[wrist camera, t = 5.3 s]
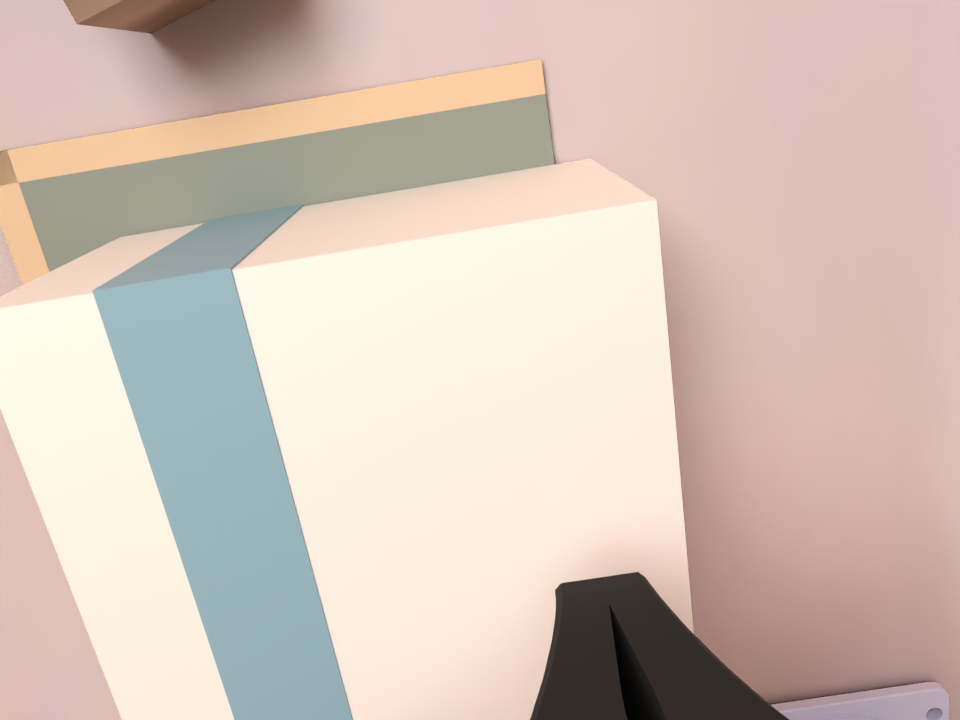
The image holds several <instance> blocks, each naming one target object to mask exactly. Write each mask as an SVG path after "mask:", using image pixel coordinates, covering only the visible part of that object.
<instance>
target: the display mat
mask: <svg viewBox="0 0 960 720" xmlns="http://www.w3.org/2000/svg"><path fill="white" fill-rule="evenodd" d="M548 165H554V156H553V148H552V140H551V133H550V125H549V117H548V109H547V101H546V93H545V85H544V77H543V69H542V61H541V59H539V60H533V61H527V62H521V63H515V64H510V65H504V66H498V67H492V68H486V69H480V70H474V71H468V72H463V73H457V74H451V75H445V76H439V77H433V78H427V79H421V80H416V81H410V82H404V83H398V84H392V85H386V86H380V87H375V88H369V89H363V90H357V91H351V92H345V93H339V94H333V95H328V96H322V97H316V98H310V99H304V100H298V101H292V102H286V103H281V104H275V105H269V106H263V107H257V108H251V109H245V110H239V111H234V112H228V113H222V114H216V115H210V116H204V117H198V118H192V119H187V120H181V121H175V122H169V123H163V124H157V125H151V126H145V127H140V128H134V129H128V130H122V131H116V132H110V133H104V134H98V135H93V136H87V137H81V138H75V139H69V140H63V141H57V142H51V143H46V144H40V145H34V146H28V147H22V148H16V149H10V150H4V151H0V225H1V228H2V231H3V233H4V236H5V239H6V242H7V244H8V247H9V250H10V253H11V256H12V258H13V261H14V264H15V267H16V269H17V272H18V275H19V278H20V281H21V283H22V285H24V284H26V283H28V282H30V281H32V280H34V279H36V278H39V277H41V276H43V275H45V274H47V273H49V272H51V271H53V270H55V269H57V268H59V267H61V266H63V265H65V264H67V263H69V262H71V261H73V260H75V259H77V258H79V257H81V256H83V255H85V254H87V253H89V252H91V251H93V250H95V249H97V248H99V247H101V246H103V245H105V244H107V243H109V242H111V241H114V240H116V239H118V238H120V237H123V236H129V235H135V234H141V233H147V232H153V231H159V230H165V229H171V228H177V227H183V226H189V225H195V224H201V223H205V222H207V221H209V220H211V219H217V218H223V217H229V216H235V215H241V214H247V213H253V212H259V211H265V210H271V209H277V208H283V207H289V206H295V205H301V204H303V206H309V205H315V204H321V203H327V202H333V201H339V200H345V199H351V198H357V197H363V196H369V195H375V194H381V193H387V192H393V191H399V190H405V189H411V188H417V187H423V186H429V185H434V184H440V183H446V182H452V181H458V180H464V179H470V178H476V177H482V176H488V175H494V174H500V173H506V172H512V171H518V170H524V169H530V168H536V167H542V166H548Z"/></svg>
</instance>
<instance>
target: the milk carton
mask: <svg viewBox="0 0 960 720" xmlns="http://www.w3.org/2000/svg"><path fill="white" fill-rule="evenodd" d="M0 409H1V411H2V414H3V416H4V419H5V422H6V424H7V427H8V429H9V432H10V434H11V437H12V439H13V442H14V445H15V447H16V450H17V452H18V455H19V457H20V460H21V462H22V465H23V468H24V470H25V473H26V475H27V478H28V480H29V483H30V485H31V488H32V491H33V493H34V496H35V498H36V501H37V503H38V506H39V508H40V511H41V514H42V516H43V519H44V521H45V524H46V526H47V529H48V532H49V534H50V537H51V539H52V542H53V544H54V547H55V549H56V552H57V555H58V557H59V560H60V562H61V565H62V567H63V570H64V572H65V575H66V578H67V580H68V583H69V585H70V588H71V590H72V593H73V595H74V598H75V601H76V603H77V606H78V608H79V611H80V613H81V616H82V618H83V621H84V624H85V626H86V629H87V631H88V634H89V636H90V639H91V642H92V644H93V647H94V649H95V652H96V654H97V657H98V659H99V662H100V665H101V667H102V670H103V672H104V675H105V677H106V680H107V682H108V685H109V688H110V690H111V693H112V695H113V698H114V700H115V703H116V705H117V708H118V711H119V713H120V716H121V718H122V720H530V718H531V715H532V712H533V709H534V706H535V702H536V699H537V696H538V693H539V690H540V687H541V683H542V680H543V676H544V673H545V668H546V664H547V659H548V655H549V651H550V646H551V642H552V636H553V629H554V622H555V612H556V596H555V590H556V588H557V587H558V586H559V585H560V584H561V583H566V582H572V581H579V580H586V579H593V578H600V577H606V576H613V575H620V574H627V573H633V572H639V573H640V574H642V575H643V576H644V577H646V579H647V580H648V581H649V583H650V584H651V585H652V587H653V588H654V589H655V591H656V592H657V593H658V594H659V596H660V597H661V598H662V599H663V600H664V602H665V603H666V604H667V605H668V606H669V608H670V609H671V610H672V611H673V612H674V613H675V614H676V615H677V617H678V618H679V619H680V620H681V621H682V622H683V623H684V624H685V625H686V627H687V628H688V629H689V630H690V631H691V632H692V633H693V634H694V629H693V618H692V606H691V594H690V583H689V571H688V559H687V548H686V536H685V525H684V513H683V501H682V490H681V478H680V467H679V455H678V443H677V432H676V420H675V408H674V397H673V385H672V374H671V362H670V350H669V339H668V327H667V316H666V304H665V292H664V281H663V269H662V257H661V246H660V234H659V223H658V211H657V200H656V199H655V198H653V197H651V196H650V195H648V194H647V193H645V192H643V191H642V190H640V189H639V188H637V187H635V186H634V185H632V184H630V183H629V182H627V181H626V180H624V179H622V178H621V177H619V176H618V175H616V174H614V173H613V172H611V171H610V170H608V169H606V168H605V167H603V166H602V165H600V164H598V163H597V162H595V161H593V160H592V159H584V160H578V161H572V162H566V163H560V164H554V165H548V166H542V167H536V168H530V169H524V170H518V171H512V172H506V173H500V174H494V175H488V176H482V177H476V178H470V179H464V180H458V181H452V182H446V183H440V184H434V185H429V186H423V187H417V188H411V189H405V190H399V191H393V192H387V193H381V194H375V195H369V196H363V197H357V198H351V199H345V200H339V201H333V202H327V203H321V204H315V205H309V206H303V204H301V205H295V206H289V207H283V208H277V209H271V210H265V211H259V212H253V213H247V214H241V215H235V216H229V217H223V218H217V219H211V220H209V221H207V222H205V223H201V224H195V225H189V226H183V227H177V228H171V229H165V230H159V231H153V232H147V233H141V234H135V235H129V236H123V237H120V238H118V239H116V240H114V241H111V242H109V243H107V244H105V245H103V246H101V247H99V248H97V249H95V250H93V251H91V252H89V253H87V254H85V255H83V256H81V257H79V258H77V259H75V260H73V261H71V262H69V263H67V264H65V265H63V266H61V267H59V268H57V269H55V270H53V271H51V272H49V273H47V274H45V275H43V276H41V277H39V278H36V279H34V280H32V281H30V282H28V283H26V284H24V285H22V286H20V287H18V288H16V289H14V290H12V291H10V292H8V293H6V294H4V295H2V296H0Z"/></svg>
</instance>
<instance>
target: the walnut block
mask: <svg viewBox="0 0 960 720" xmlns="http://www.w3.org/2000/svg"><path fill="white" fill-rule="evenodd" d="M212 1H214V0H64V2H65V4H66V6H67V7H68V9H69V11H70V13H71V14H72V16H73V18H74V20H75V21H76V23H77V24H81V25H89V26H97V27H105V28H113V29H121V30H129V31H137V32H145V33H151V32H153V31H155V30H157V29H159V28H161V27H163V26H165V25H167V24H169V23H171V22H173V21H175V20H177V19H179V18H181V17H183V16H185V15H187V14H189V13H191V12H193V11H194V10H196V9H198V8H200V7H202V6H204V5H206V4H208V3H210V2H212Z"/></svg>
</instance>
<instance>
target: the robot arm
mask: <svg viewBox="0 0 960 720" xmlns="http://www.w3.org/2000/svg"><path fill="white" fill-rule="evenodd" d="M555 596H556V612H555V622H554V629H553V636H552V642H551V646H550V651H549V655H548V659H547V664H546V668H545V673H544V676H543V680H542V683H541V687H540V690H539V693H538V696H537V699H536V702H535V706H534V709H533V712H532V715H531V718H530V720H949V704H950V698H949V694H948V692H947V691H946V690H945V689H944V687H943V686H942V685H941V684H939V683H937V682H924V683H917V684H910V685H903V686H896V687H889V688H882V689H876V690H869V691H862V692H855V693H848V694H841V695H834V696H827V697H820V698H813V699H806V700H799V701H792V702H785V703H779V704H772V705H770V704H769V703H768V702H766V701H765V700H764V699H763V698H762V697H760V696H759V695H758V694H757V693H756V692H754V691H753V690H752V689H751V688H750V687H749V686H748V685H746V684H745V683H744V682H743V681H742V680H741V679H740V678H739V677H737V676H736V675H735V674H734V673H733V672H732V671H731V670H730V669H729V668H727V667H726V666H725V665H724V664H723V663H722V662H721V661H720V660H719V659H718V658H717V657H716V656H715V655H714V654H713V653H712V652H711V651H710V650H709V649H708V648H707V647H706V646H705V645H704V644H703V643H702V642H701V641H700V640H699V639H698V638H697V637H696V636H695V635H694V634H693V633H692V632H691V631H690V630H689V629H688V628H687V627H686V625H685V624H684V623H683V622H682V621H681V620H680V619H679V618H678V617H677V615H676V614H675V613H674V612H673V611H672V610H671V609H670V608H669V606H668V605H667V604H666V603H665V602H664V600H663V599H662V598H661V597H660V596H659V594H658V593H657V592H656V591H655V589H654V588H653V587H652V585H651V584H650V583H649V581H648V580H647V579H646V577H644V576H643V575H642V574H640V573H639V572H633V573H627V574H620V575H613V576H606V577H600V578H593V579H586V580H579V581H572V582H566V583H561V584H560V585H559V586H558V587H557V588H556V590H555ZM932 708H934V709H932ZM930 709H932V710H931V711H929V710H930Z"/></svg>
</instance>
